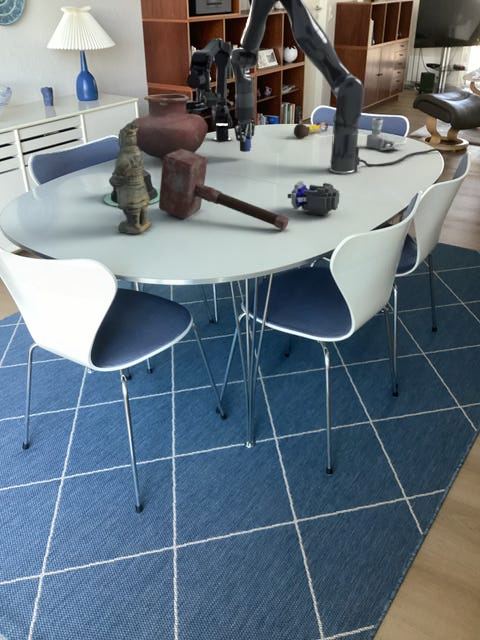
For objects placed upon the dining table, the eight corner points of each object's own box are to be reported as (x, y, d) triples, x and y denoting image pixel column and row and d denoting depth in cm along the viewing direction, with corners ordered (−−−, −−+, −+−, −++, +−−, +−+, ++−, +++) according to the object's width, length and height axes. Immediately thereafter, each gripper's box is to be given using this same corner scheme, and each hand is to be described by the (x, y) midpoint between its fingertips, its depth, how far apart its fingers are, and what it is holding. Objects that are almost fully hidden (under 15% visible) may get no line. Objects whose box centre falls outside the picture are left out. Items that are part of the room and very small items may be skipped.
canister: (238, 150, 226) (238, 139, 223) (247, 149, 227) (247, 138, 225) (243, 152, 222) (242, 141, 220) (252, 151, 224) (252, 140, 222)
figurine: (335, 120, 268) (311, 122, 249) (333, 136, 271) (309, 140, 252) (311, 118, 275) (286, 120, 256) (309, 134, 278) (284, 137, 259)
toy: (295, 178, 172) (342, 184, 166) (295, 205, 177) (340, 211, 171) (285, 186, 166) (333, 192, 160) (284, 213, 170) (331, 220, 164)
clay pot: (215, 151, 239) (212, 89, 226) (198, 171, 213) (194, 102, 201) (147, 150, 244) (141, 89, 231) (123, 168, 218) (114, 101, 206)
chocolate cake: (91, 202, 180) (113, 186, 197) (142, 231, 182) (160, 212, 199) (107, 162, 172) (129, 148, 190) (160, 192, 174) (177, 176, 192)
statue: (131, 220, 168) (117, 116, 152) (158, 224, 164) (147, 118, 149) (109, 233, 159) (93, 124, 144) (138, 237, 156) (124, 126, 140)
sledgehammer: (299, 190, 156) (179, 147, 167) (285, 200, 148) (161, 154, 160) (286, 244, 166) (174, 200, 177) (272, 256, 158) (156, 209, 170)
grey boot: (376, 116, 238) (408, 121, 230) (373, 144, 244) (404, 150, 236) (365, 119, 233) (397, 124, 224) (362, 148, 239) (393, 154, 230)
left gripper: (191, 89, 219) (193, 130, 227) (232, 85, 227) (233, 125, 234) (179, 86, 227) (182, 126, 235) (219, 82, 235) (221, 121, 243)
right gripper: (244, 101, 223) (245, 145, 232) (227, 107, 212) (228, 152, 221) (261, 102, 220) (261, 146, 228) (244, 108, 209) (245, 154, 218)
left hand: (205, 124), depth 237 cm, fingers open, 9 cm apart
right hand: (245, 149), depth 225 cm, fingers closed on canister, 4 cm apart
